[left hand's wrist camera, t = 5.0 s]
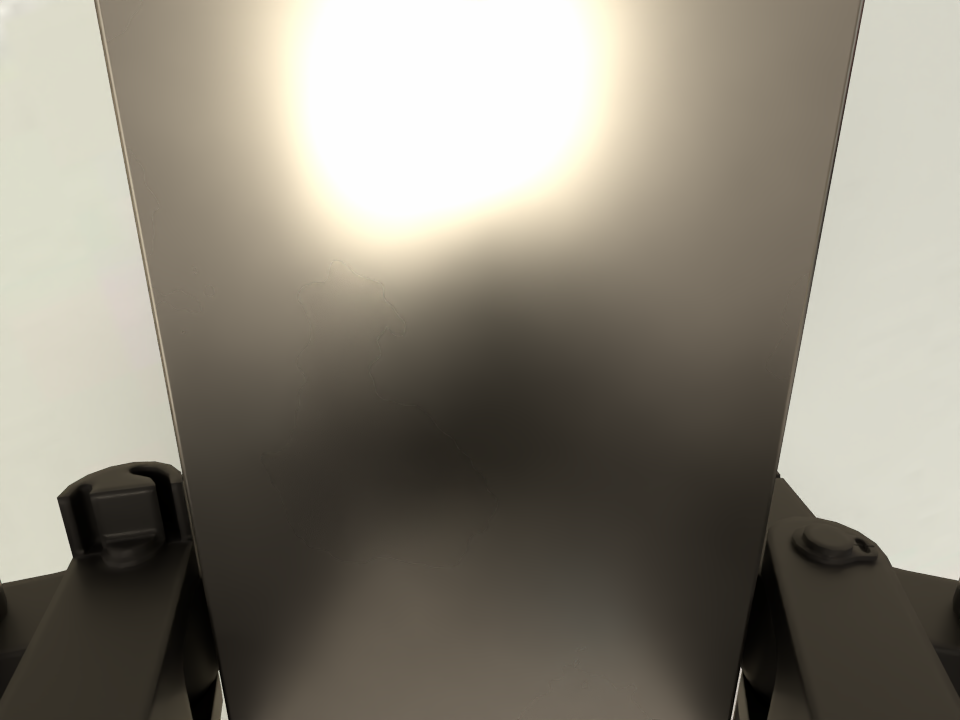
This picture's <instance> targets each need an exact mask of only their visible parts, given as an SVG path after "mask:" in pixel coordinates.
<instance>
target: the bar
mask: <svg viewBox="0 0 960 720" xmlns="http://www.w3.org/2000/svg"><path fill="white" fill-rule="evenodd" d="M94 2H95V8H96V13H97V18H98V24H99V29H100V34H101V40H102V45H103V50H104V56H105V61H106V66H107V72H108V77H109V83H110V88H111V93H112V99H113V104H114V109H115V115H116V120H117V125H118V131H119V136H120V141H121V147H122V152H123V158H124V163H125V168H126V174H127V179H128V184H129V190H130V195H131V200H132V206H133V211H134V216H135V222H136V227H137V233H138V238H139V243H140V249H141V254H142V259H143V265H144V270H145V275H146V281H147V286H148V291H149V297H150V302H151V307H152V313H153V318H154V324H155V329H156V334H157V340H158V345H159V350H160V356H161V361H162V366H163V372H164V377H165V382H166V388H167V393H168V399H169V404H170V409H171V415H172V420H173V425H174V431H175V436H176V441H177V447H178V452H179V457H180V463H181V468H182V474H183V479H184V484H185V490H186V495H187V500H188V506H189V511H190V516H191V522H192V527H193V532H194V538H195V543H196V549H197V554H198V559H199V565H200V570H201V575H202V581H203V586H204V591H205V597H206V602H207V607H208V613H209V618H210V623H211V629H212V634H213V640H214V645H215V650H216V656H217V661H218V666H219V672H220V677H221V682H222V688H223V693H224V698H225V704H226V709H227V715H228V720H731V715H732V710H733V705H734V699H735V694H736V689H737V683H738V678H739V672H740V667H741V662H742V656H743V651H744V646H745V640H746V635H747V630H748V624H749V619H750V613H751V608H752V603H753V597H754V592H755V587H756V581H757V576H758V571H759V565H760V560H761V554H762V549H763V544H764V538H765V533H766V528H767V522H768V517H769V512H770V506H771V501H772V495H773V490H774V485H775V479H776V474H777V469H778V463H779V458H780V453H781V447H782V442H783V436H784V431H785V426H786V420H787V415H788V410H789V404H790V399H791V394H792V388H793V383H794V377H795V372H796V367H797V361H798V356H799V351H800V345H801V340H802V335H803V329H804V324H805V318H806V313H807V308H808V302H809V297H810V292H811V286H812V281H813V276H814V270H815V265H816V259H817V254H818V249H819V243H820V238H821V233H822V227H823V222H824V217H825V211H826V206H827V200H828V195H829V190H830V184H831V179H832V174H833V168H834V163H835V158H836V152H837V147H838V141H839V136H840V131H841V125H842V120H843V115H844V109H845V104H846V99H847V93H848V88H849V82H850V77H851V72H852V66H853V61H854V56H855V50H856V45H857V40H858V34H859V29H860V23H861V18H862V13H863V7H864V2H865V0H94Z"/></svg>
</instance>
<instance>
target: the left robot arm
mask: <svg viewBox="0 0 960 720" xmlns="http://www.w3.org/2000/svg"><path fill="white" fill-rule="evenodd" d="M57 500H58V503H59V507H60V511H61V514H62V518H63V522H64V525H65V529H66V533H67V537H68V540H69V544H70V548H71V551H72V555H73V559H72V561H71V563H70V565H69V567H68V569H67V570H65V571H62V572H58V573H54V574H48V575H43V576H38V577H33V578H28V579H23V580H18V581H13V582H8V583H3V584H2V583H1V580H0V720H220V719H221V711H222V703H223V698H222V690H221V684H220V679H219V673H218V671H219V666H218V661H217V656H216V650H215V645H214V640H213V634H212V629H211V623H210V618H209V613H208V607H207V602H206V597H205V591H204V586H203V581H202V575H201V570H200V565H199V559H198V554H197V549H196V543H195V538H194V532H193V527H192V522H191V516H190V511H189V506H188V500H187V495H186V490H185V484H184V479H183V474H182V475H181V472H180V471H179V470H177V469H176V468H175V467H173V466H172V465H169V464H164V463H160V462H132V463H127V464H122V465H117V466H111V467H108V468H105V469H103V470H100V471H97V472H94V473H91V474H89V475H87V476H85V477H83V478H81V479H80V480H78V481H76V482H74V483H73V484H71V485H69V486H68V487H67V488H66V489H65V490H64V491H63V492H62V493H61V494H60V495H59V496H58V497H57ZM741 668H742V673H741V679H740V684H739V689H738V695H737V700H736V705H735V711H734V716H733V720H960V578H959V581H957V580H952V579H947V578H942V577H937V576H932V575H927V574H921V573H916V572H911V571H906V570H902V569H898V568H894V567H892V565H891V563H890V561H889V560H888V558H887V556H886V555H885V554H884V552H883V551H882V550H881V549H880V548H879V546H878V545H877V544H876V543H875V542H873V541H872V540H870V539H869V538H867V537H866V536H864V535H863V534H861V533H860V532H858V531H856V530H854V529H851V528H849V527H847V526H844V525H842V524H840V523H837V522H833V521H829V520H825V519H820V518H816V517H815V516H814V515H813V513H812V512H811V511H810V510H809V509H808V507H807V506H806V505H805V504H804V503H803V501H802V500H801V499H800V498H799V497H798V495H797V494H796V493H795V492H794V491H793V489H792V488H791V487H790V486H789V485H788V483H787V482H786V481H785V480H784V479H783V478H780V474H779V473H778V471H777V474H776V479H775V485H774V490H773V495H772V501H771V506H770V512H769V517H768V522H767V528H766V533H765V538H764V544H763V549H762V554H761V560H760V565H759V571H758V576H757V581H756V587H755V592H754V597H753V603H752V608H751V613H750V619H749V624H748V630H747V635H746V640H745V646H744V651H743V656H742V662H741Z"/></svg>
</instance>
